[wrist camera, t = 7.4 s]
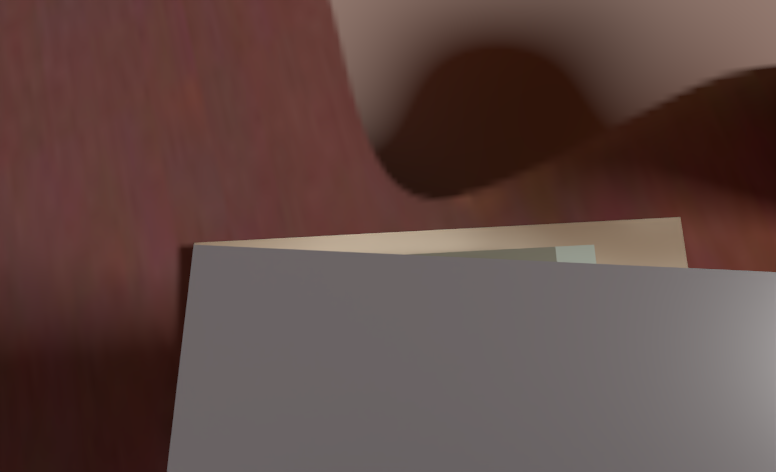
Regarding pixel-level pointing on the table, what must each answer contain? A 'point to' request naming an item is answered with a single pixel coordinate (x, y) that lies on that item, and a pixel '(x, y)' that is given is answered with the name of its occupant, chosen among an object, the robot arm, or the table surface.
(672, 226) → the end holder
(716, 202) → the table surface
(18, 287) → the table surface
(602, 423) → the connector plug
